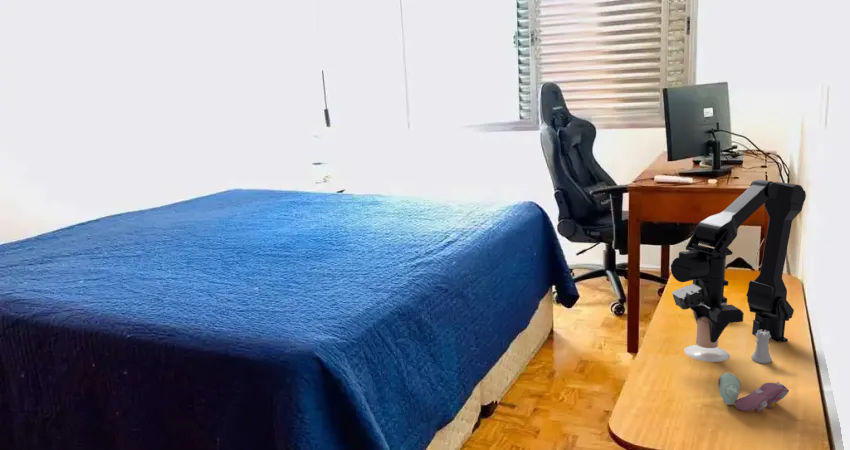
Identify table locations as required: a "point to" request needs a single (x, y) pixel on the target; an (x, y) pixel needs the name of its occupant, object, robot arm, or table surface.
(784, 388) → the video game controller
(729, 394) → the robot head
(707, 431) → the table surface
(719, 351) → the coaster
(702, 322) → the cup
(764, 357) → the rook chess piece
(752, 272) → the table surface
